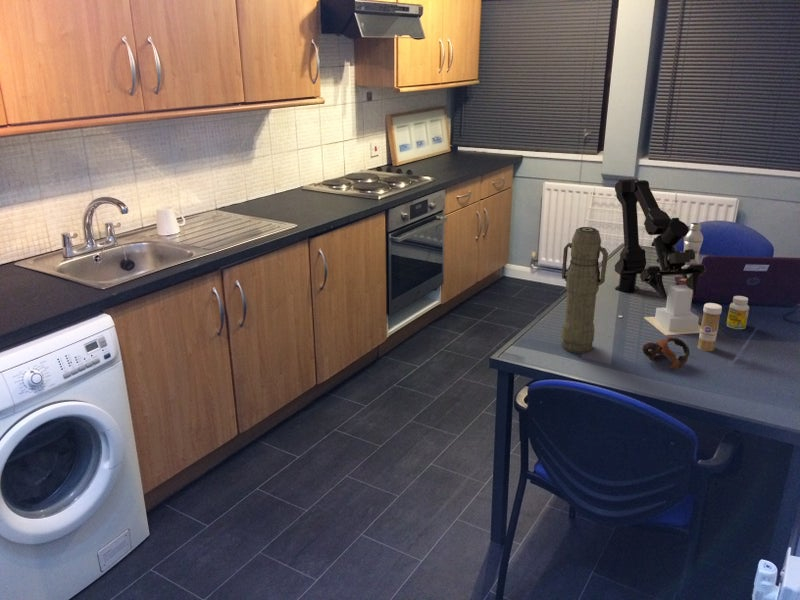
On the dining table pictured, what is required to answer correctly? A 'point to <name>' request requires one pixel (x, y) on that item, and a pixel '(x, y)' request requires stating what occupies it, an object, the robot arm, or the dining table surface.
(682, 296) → the cover
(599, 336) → the dining table surface
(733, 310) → the supplement bottle
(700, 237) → the plastic bottle
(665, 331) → the mat
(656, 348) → the pottery mug
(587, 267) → the thermos
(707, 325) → the sprinkles bottle
